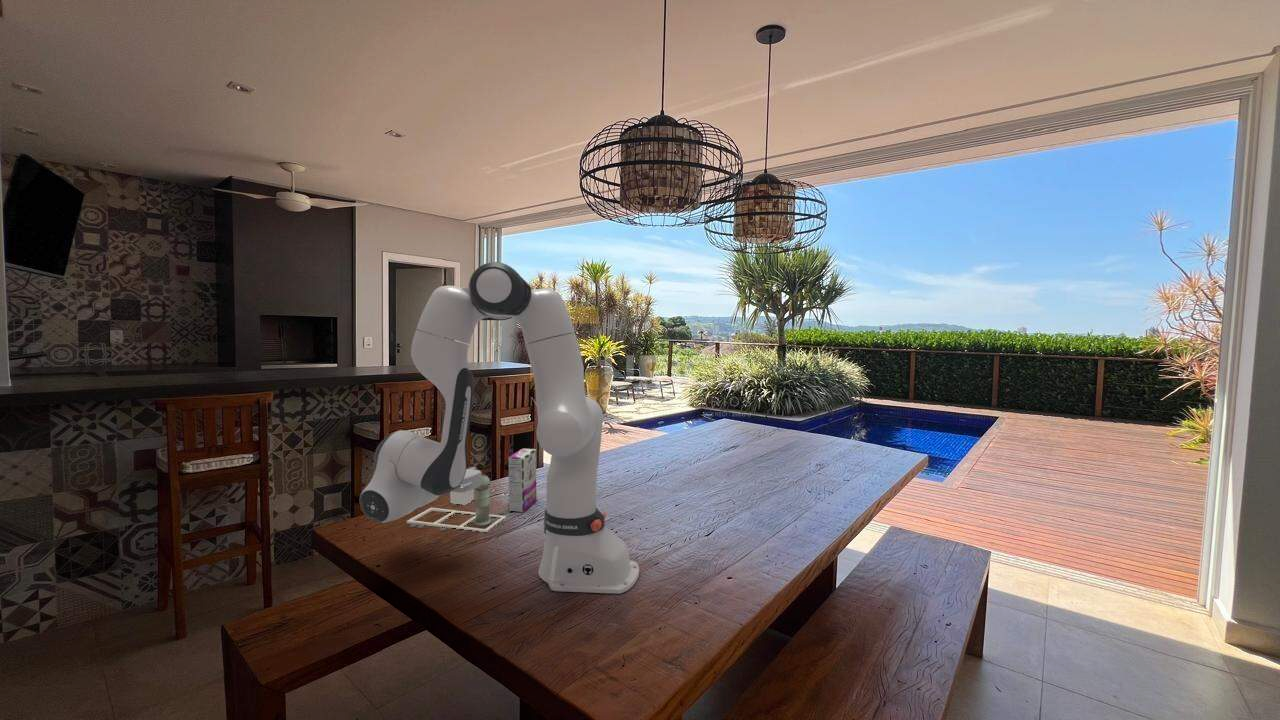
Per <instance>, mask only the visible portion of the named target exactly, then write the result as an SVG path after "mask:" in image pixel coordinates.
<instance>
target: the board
mask: <svg viewBox="0 0 1280 720" xmlns="http://www.w3.org/2000/svg"><path fill="white" fill-rule="evenodd" d="M430 512H439V513H446V512H451V513H448V514H446V515H444V516H442V517H441V518H440V519H437V520H436V521H434V522H427V521H420V520H418V519H421V518H422V517H424V516H425V515H427V514H429V513H430ZM455 513H461V514H460V515H464V514H471V515H470V516H472V515H475V516H472V517H471V518H469V519H468V520H466V521H465V522H462V524H460V525H455V524H445V523H442V522H444V521H446V520H447V519H449V518H450V517H449V516H451V515H452V516H454V515H456V514H455ZM453 514H454V515H453ZM452 516H451V517H452ZM448 517H449V518H448ZM490 517H497V518H496V521H494V522H492V523H491V524H490V525H488V527H486V528H480V527H470V526H468V525H469V524H471V523H472V522H474V521H473V520H474V519H476V512H472V511H462V510H455V509H447V508H438V507H430V508H428V509H426V510H424V511H422V512H421V513H419V514H416V515H415V516H413V517H411V518H410V519H408V520H406V523H407V524H409V525H408V527H409V528H411V529H412V528H417V529H418V530H419V529H420V530H421V529H424V528H425V526H427V527H437V528H438V531H439V532H445V531H447V529H451V528H456V529H455V530H459V529H464V530H463V531H467V530H472V531H471V532H475V531H479V532H478V533H483V532H487V533H488V532H490V531H491V530H492V529H494V528H495V527H496V526H498V525H499V524H500V523H502V522H503V521H504V520H506V519H507V516H506V515H498V514H490V513H489V518H490ZM498 518H500V519H498ZM505 518H506V519H505ZM445 519H446V520H445ZM503 519H504V520H503ZM502 520H503V521H502ZM501 521H502V522H501ZM470 522H471V523H470ZM499 522H500V523H499ZM468 523H469V524H468ZM498 523H499V524H498ZM467 524H468V525H467ZM497 524H498V525H497ZM495 525H496V526H495ZM464 526H465V527H464ZM494 526H495V527H494ZM442 527H443V528H442ZM444 527H445V528H444ZM493 527H494V528H493ZM491 528H492V529H491ZM490 529H491V530H490ZM489 530H490V531H489Z"/></svg>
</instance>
